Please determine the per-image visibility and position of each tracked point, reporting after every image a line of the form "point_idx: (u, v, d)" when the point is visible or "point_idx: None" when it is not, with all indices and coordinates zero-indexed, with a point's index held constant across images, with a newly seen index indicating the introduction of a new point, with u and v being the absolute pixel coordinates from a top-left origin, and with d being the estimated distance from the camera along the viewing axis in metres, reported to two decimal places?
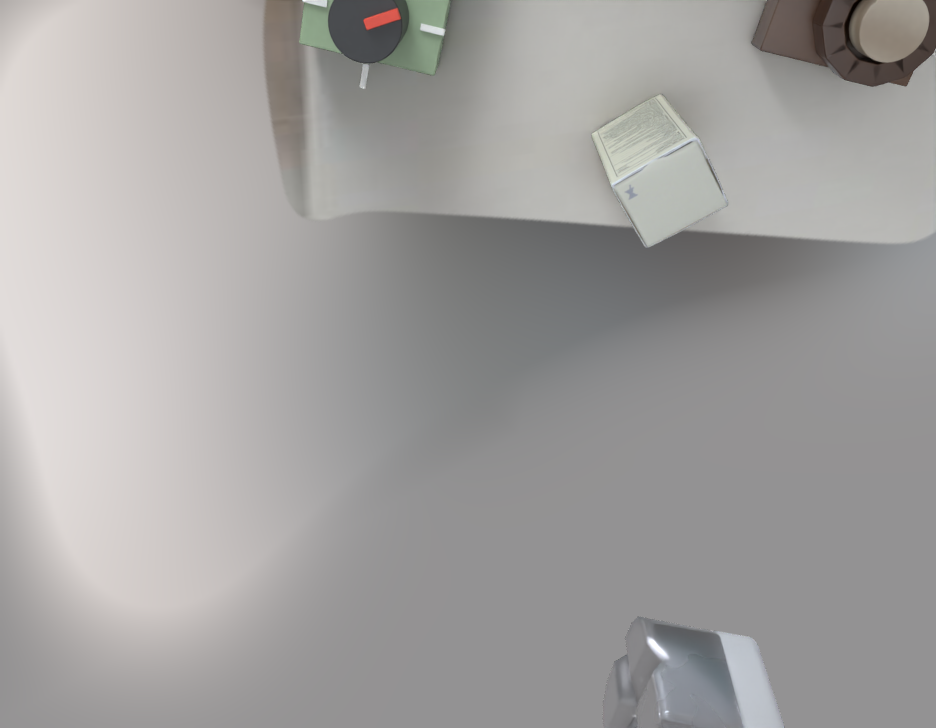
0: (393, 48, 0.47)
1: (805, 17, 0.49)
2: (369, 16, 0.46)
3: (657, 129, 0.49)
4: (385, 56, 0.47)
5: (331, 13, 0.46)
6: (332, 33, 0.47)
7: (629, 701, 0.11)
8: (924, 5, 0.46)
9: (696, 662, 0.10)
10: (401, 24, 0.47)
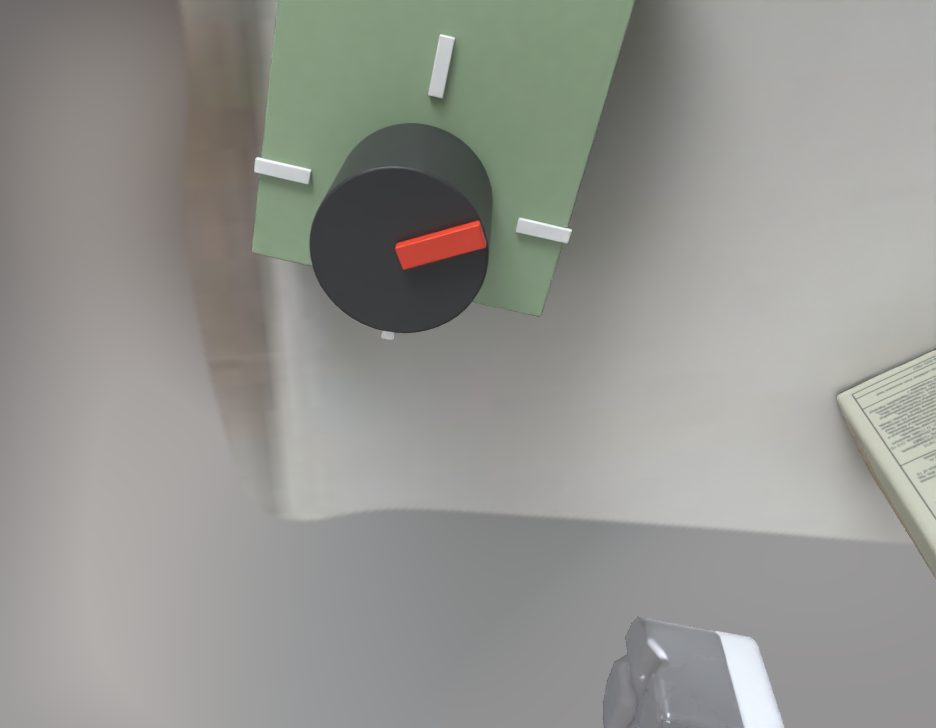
0: (465, 304, 0.20)
1: None
2: (409, 238, 0.19)
3: None
4: (445, 320, 0.20)
5: (317, 230, 0.19)
6: (320, 272, 0.20)
7: (629, 701, 0.11)
8: None
9: (696, 662, 0.10)
10: (486, 255, 0.19)
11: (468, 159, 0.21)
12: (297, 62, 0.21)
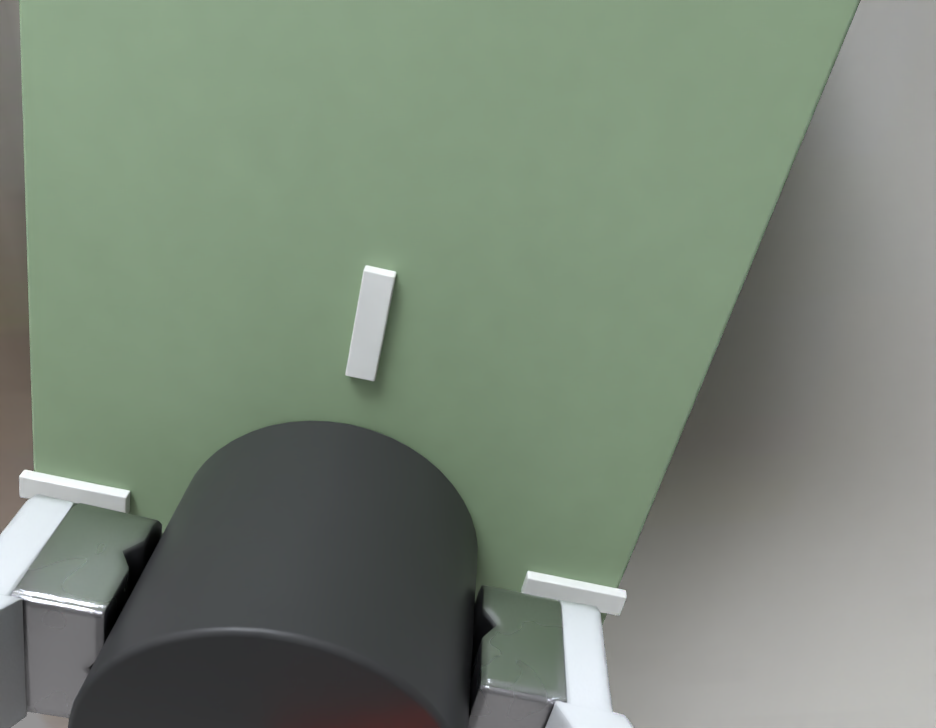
0: None
1: None
2: None
3: None
4: None
5: None
6: None
7: None
8: None
9: (529, 629, 0.10)
10: None
11: (426, 510, 0.10)
12: (80, 312, 0.10)
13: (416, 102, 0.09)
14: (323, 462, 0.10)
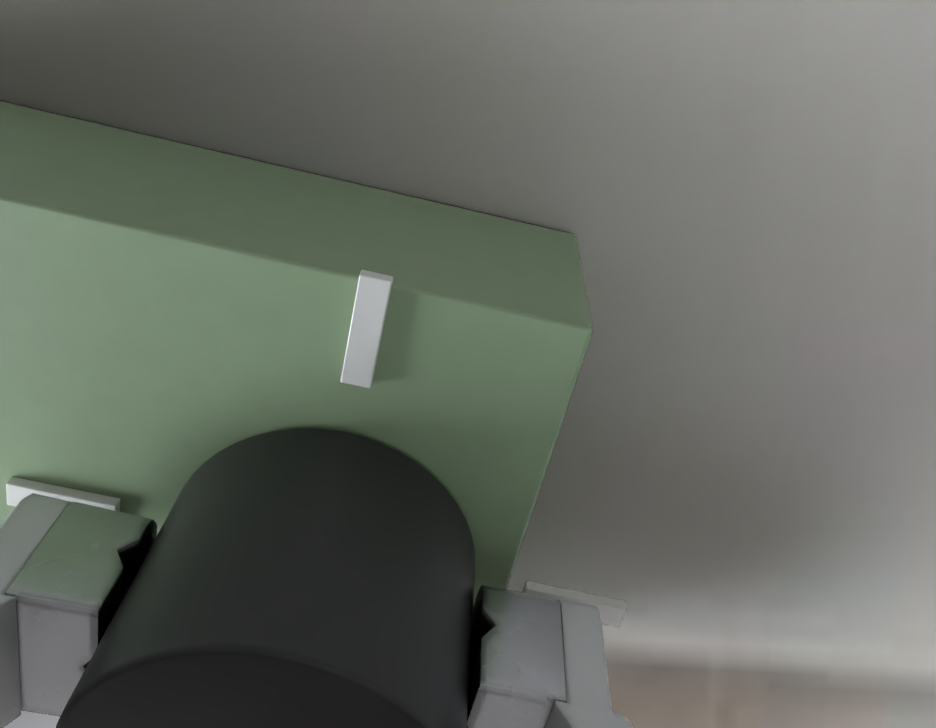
0: None
1: None
2: None
3: None
4: None
5: None
6: None
7: (470, 670, 0.11)
8: None
9: (529, 629, 0.10)
10: None
11: (432, 529, 0.10)
12: None
13: None
14: (331, 474, 0.10)
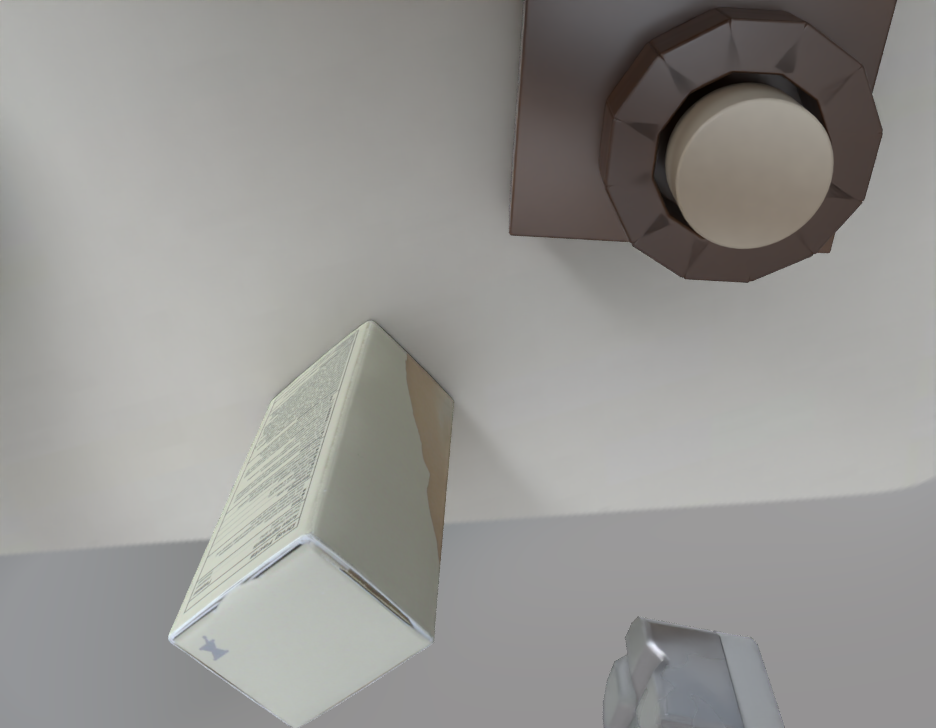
0: None
1: (581, 161, 0.23)
2: None
3: (299, 454, 0.23)
4: None
5: None
6: None
7: (629, 701, 0.11)
8: (812, 120, 0.20)
9: (696, 662, 0.10)
10: None
11: None
12: None
13: None
14: None
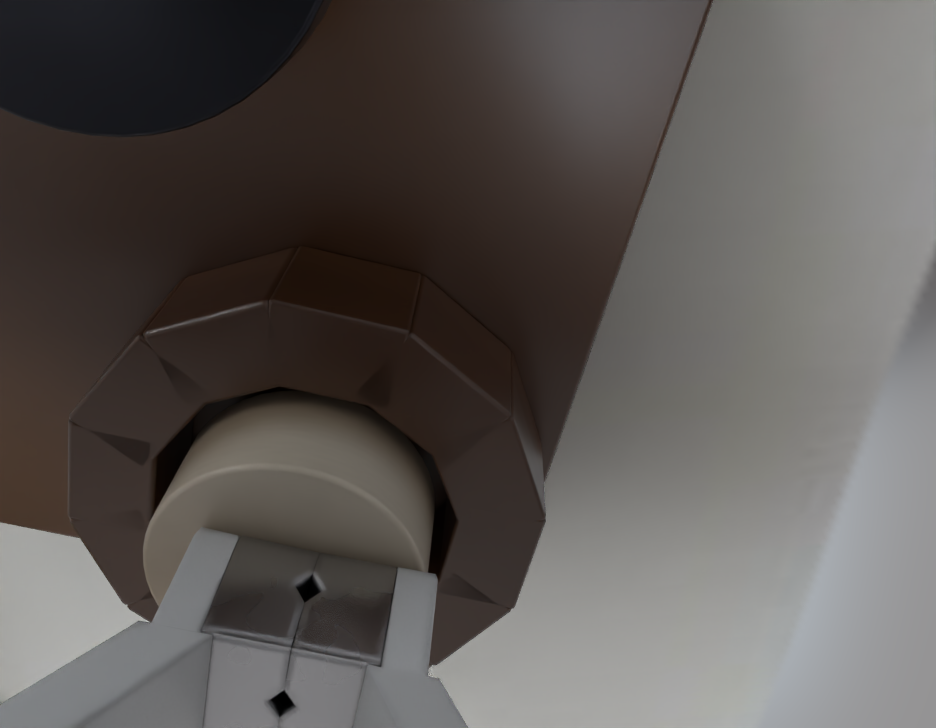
0: None
1: None
2: None
3: None
4: None
5: None
6: None
7: None
8: (383, 515, 0.10)
9: (357, 595, 0.10)
10: None
11: None
12: None
13: None
14: None
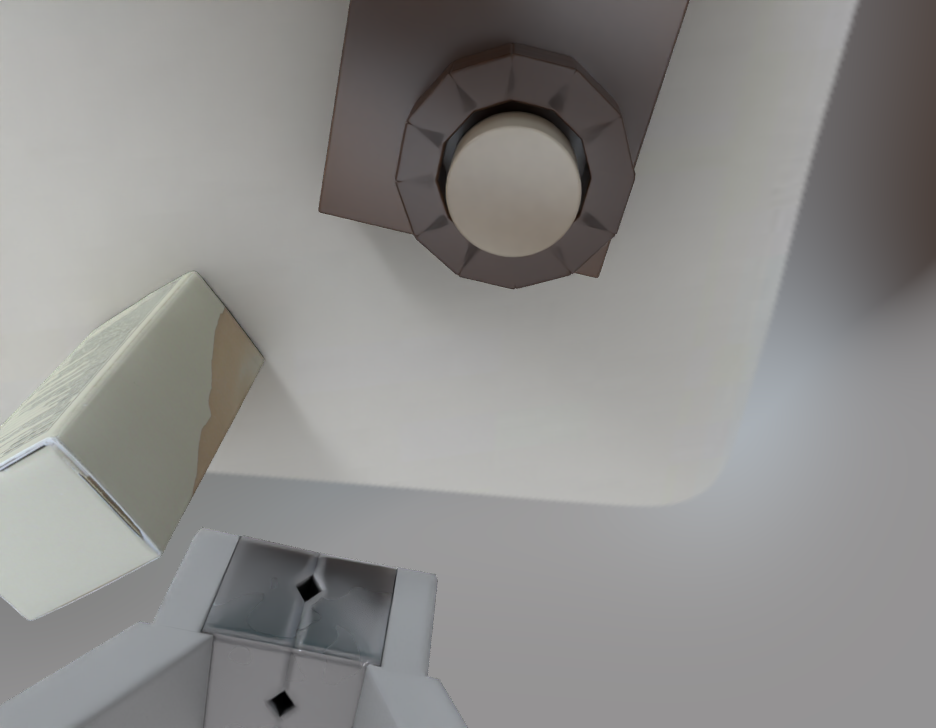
0: None
1: (387, 156, 0.26)
2: None
3: (82, 374, 0.25)
4: None
5: None
6: None
7: None
8: (565, 153, 0.23)
9: (357, 595, 0.10)
10: None
11: None
12: None
13: None
14: None
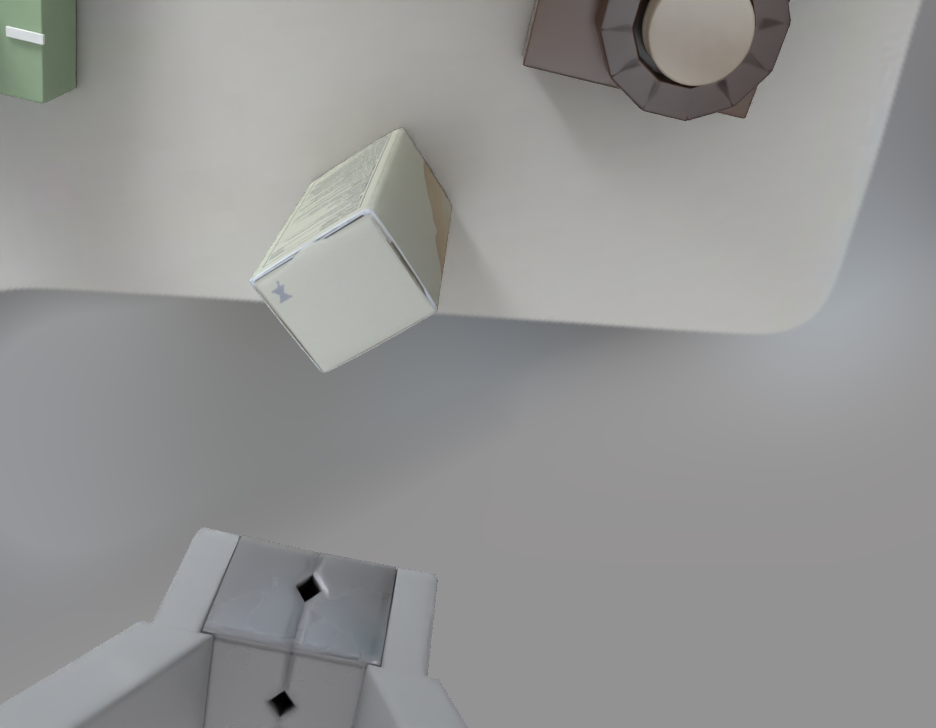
0: None
1: (584, 16, 0.33)
2: None
3: (351, 187, 0.32)
4: None
5: None
6: None
7: None
8: None
9: (357, 595, 0.10)
10: None
11: None
12: None
13: None
14: None
